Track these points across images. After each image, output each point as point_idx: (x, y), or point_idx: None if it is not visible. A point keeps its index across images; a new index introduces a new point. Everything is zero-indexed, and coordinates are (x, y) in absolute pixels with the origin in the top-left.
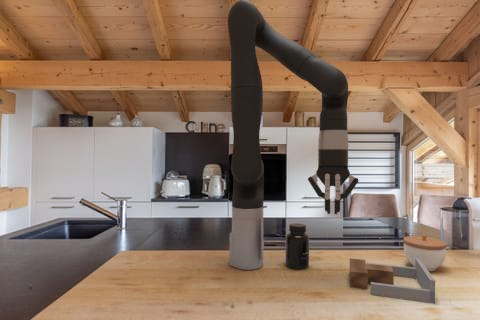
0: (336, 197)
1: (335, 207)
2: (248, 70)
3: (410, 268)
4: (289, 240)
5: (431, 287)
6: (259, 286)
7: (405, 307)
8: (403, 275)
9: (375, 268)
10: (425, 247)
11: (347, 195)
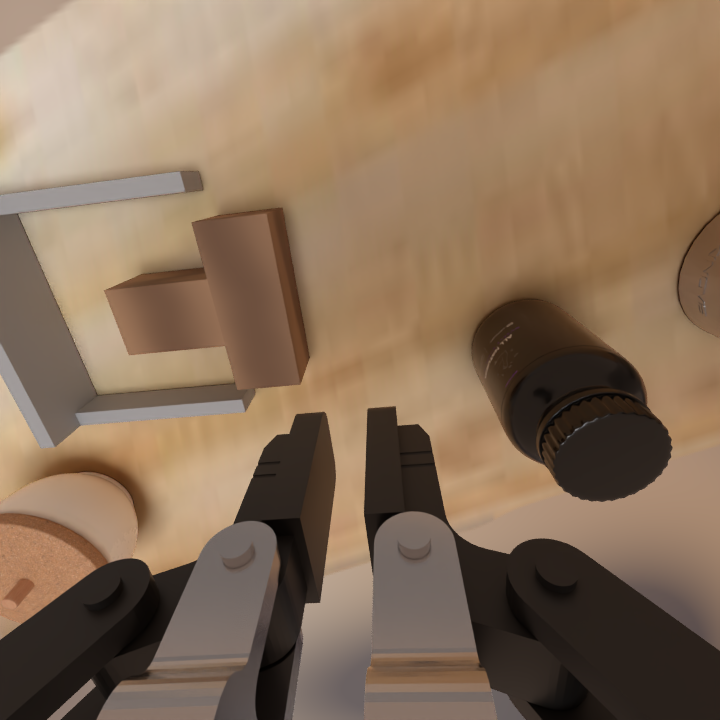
0: (259, 557)
1: (303, 452)
2: None
3: (92, 411)
4: (617, 354)
5: None
6: (677, 10)
7: (65, 104)
8: (131, 395)
9: (176, 300)
10: (9, 517)
11: (62, 605)
